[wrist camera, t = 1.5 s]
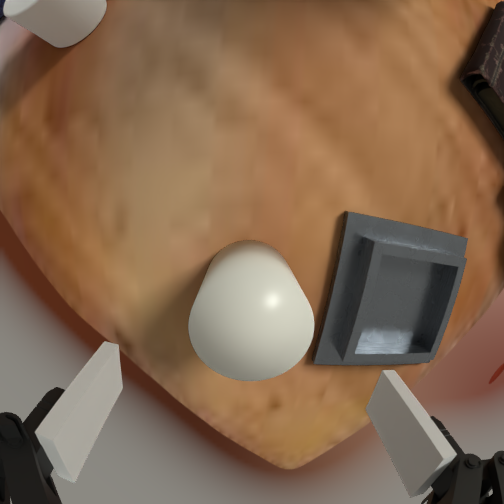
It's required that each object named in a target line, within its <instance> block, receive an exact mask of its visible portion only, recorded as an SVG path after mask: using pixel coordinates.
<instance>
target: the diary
mask: <svg viewBox="0 0 504 504" xmlns="http://www.w3.org/2000/svg"><path fill="white" fill-rule="evenodd" d="M460 81H461V83H462V84H463V85H464V86H465V87H466V88H467V90H468V91H469V92H470V93H471V95H472V96H473V97H474V98H475V100H476V101H477V102H478V104H479V105H480V106H481V108H482V109H483V110H484V112H485V113H486V115H487V116H488V117H489V119H490V120H491V122H492V123H493V125H494V126H495V127H496V129H497V130H498V132H499V134H500V135H501V137H502V138H503V140H504V1H501V2H499V3H497V4H496V7H495V9H494V12H493V14H492V17H491V19H490V21H489V23H488V25H487V27H486V29H485V31H484V33H483V35H482V37H481V39H480V42H479V44H478V46H477V49H476V51H475V53H474V54H473V56H472V58H471V59H470V61H469V63H468V64H467V66H466V68H465V70H464V71H463V73H462V75H461V77H460Z"/></svg>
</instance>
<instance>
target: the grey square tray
mask: <svg viewBox="0 0 504 504" xmlns="http://www.w3.org/2000/svg"><path fill="white" fill-rule="evenodd" d="M467 241H468V238H464V237H461V236H457V235H453V234H449V233H445V232H441V231H437V230H433V229H428V228H424V227H420V226H415V225H411V224H407V223H402V222H398V221H393V220H388V219H383V218H379V217H374V216H369V215H364V214H359V213H354V212H348V211H345V215H344V220H343V226H342V231H341V237H340V242H339V247H338V252H337V257H336V262H335V267H334V272H333V276H332V281H331V285H330V290H329V294H328V298H327V303H326V307H325V311H324V315H323V319H322V323H321V327H320V331H319V335H318V338H317V342H316V346H315V349H314V353H313V357H312V361H313V364H324V365H392V364H414V363H429V362H430V360H433V359H434V357H435V355H436V352H437V350H438V348H439V345H440V343H441V340H442V337H443V335H444V332H445V329H446V327H447V324H448V321H449V318H450V315H451V312H452V309H453V306H454V303H455V300H456V297H457V293H458V290H459V287H460V283H461V279H462V276H463V272H464V268H465V264H466V260H467V258H464V255H465V250H466V245H467Z"/></svg>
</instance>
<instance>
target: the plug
mask: <svg viewBox="0 0 504 504" xmlns="http://www.w3.org/2000/svg"><path fill="white" fill-rule="evenodd" d="M188 329H189V337H190V340H191V344H192V346H193V348H194V350H195V352H196V353H197V355H198V356H199V358H200V359H201V360H202V361H203V362H204V363H205V364H206V365H207V366H208V367H209V368H211V369H212V370H214V371H215V372H217V373H219V374H221V375H223V376H226V377H228V378H232V379H236V380H242V381H260V380H266V379H269V378H273V377H276V376H278V375H280V374H282V373H284V372H286V371H288V370H289V369H291V368H292V367H293V366H294V365H296V364H297V363H298V362H299V361H300V360H301V358H302V357H303V356H304V355H305V353H306V352H307V350H308V348H309V346H310V344H311V341H312V338H313V333H314V316H313V312H312V309H311V306H310V304H309V302H308V300H307V298H306V296H305V295H304V293H303V291H302V289H301V287H300V286H299V284H298V282H297V280H296V278H295V277H294V275H293V273H292V271H291V269H290V268H289V266H288V264H287V262H286V261H285V259H284V257H283V256H282V255H281V254H280V253H279V252H278V251H277V250H276V249H275V248H273V247H272V246H270V245H268V244H266V243H263V242H260V241H255V240H243V241H237V242H234V243H232V244H230V245H228V246H226V247H224V248H223V249H222V250H221V251H219V252H218V253H217V254H216V256H215V257H214V258H213V260H212V261H211V263H210V266H209V268H208V270H207V273H206V275H205V277H204V280H203V282H202V285H201V287H200V290H199V292H198V294H197V297H196V299H195V302H194V304H193V307H192V309H191V313H190V316H189V323H188Z"/></svg>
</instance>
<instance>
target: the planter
mask: <svg viewBox="0 0 504 504" xmlns="http://www.w3.org/2000/svg"><path fill="white" fill-rule="evenodd" d="M5 1H6V0H0V18H1V17H2V16H3V15H4V13H3V7H4V3H5Z"/></svg>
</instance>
